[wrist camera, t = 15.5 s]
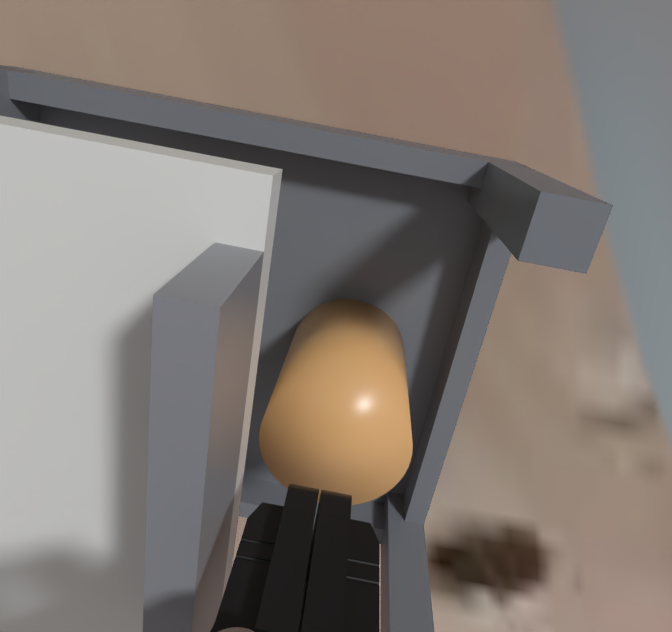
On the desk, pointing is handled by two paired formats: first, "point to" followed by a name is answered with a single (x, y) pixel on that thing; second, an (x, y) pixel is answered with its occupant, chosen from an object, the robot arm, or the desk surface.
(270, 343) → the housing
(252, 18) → the desk surface
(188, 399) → the lid
